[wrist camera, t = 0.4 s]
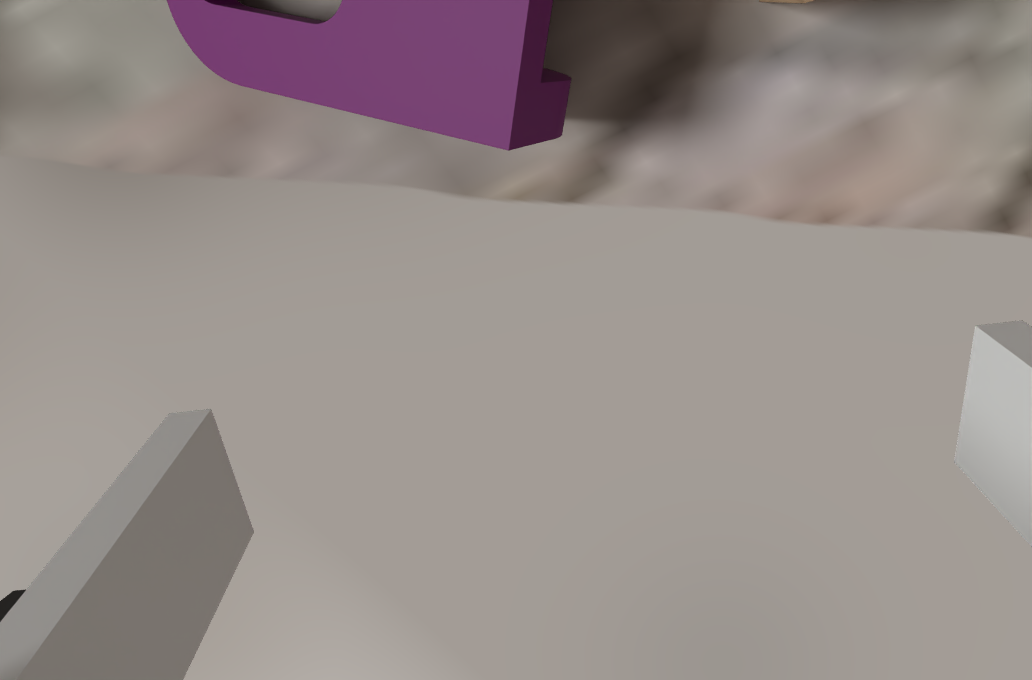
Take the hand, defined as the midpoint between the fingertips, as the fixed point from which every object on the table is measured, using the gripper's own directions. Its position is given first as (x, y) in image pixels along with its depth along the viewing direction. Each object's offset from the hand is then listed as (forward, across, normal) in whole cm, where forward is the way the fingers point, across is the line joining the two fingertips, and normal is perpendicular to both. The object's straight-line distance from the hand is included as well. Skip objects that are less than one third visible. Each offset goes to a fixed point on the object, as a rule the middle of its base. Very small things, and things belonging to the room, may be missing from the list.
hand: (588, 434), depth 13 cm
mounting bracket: (+28, -7, +8) cm, 29 cm away
